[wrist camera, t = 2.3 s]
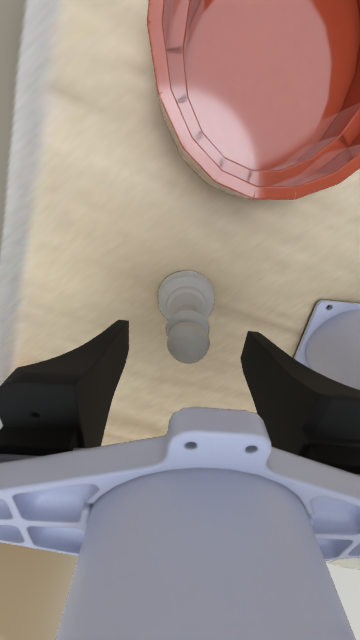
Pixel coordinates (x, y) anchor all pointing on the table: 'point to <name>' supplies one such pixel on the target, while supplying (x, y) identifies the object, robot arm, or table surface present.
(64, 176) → the table surface
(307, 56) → the bowl
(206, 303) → the chess piece
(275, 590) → the robot arm
